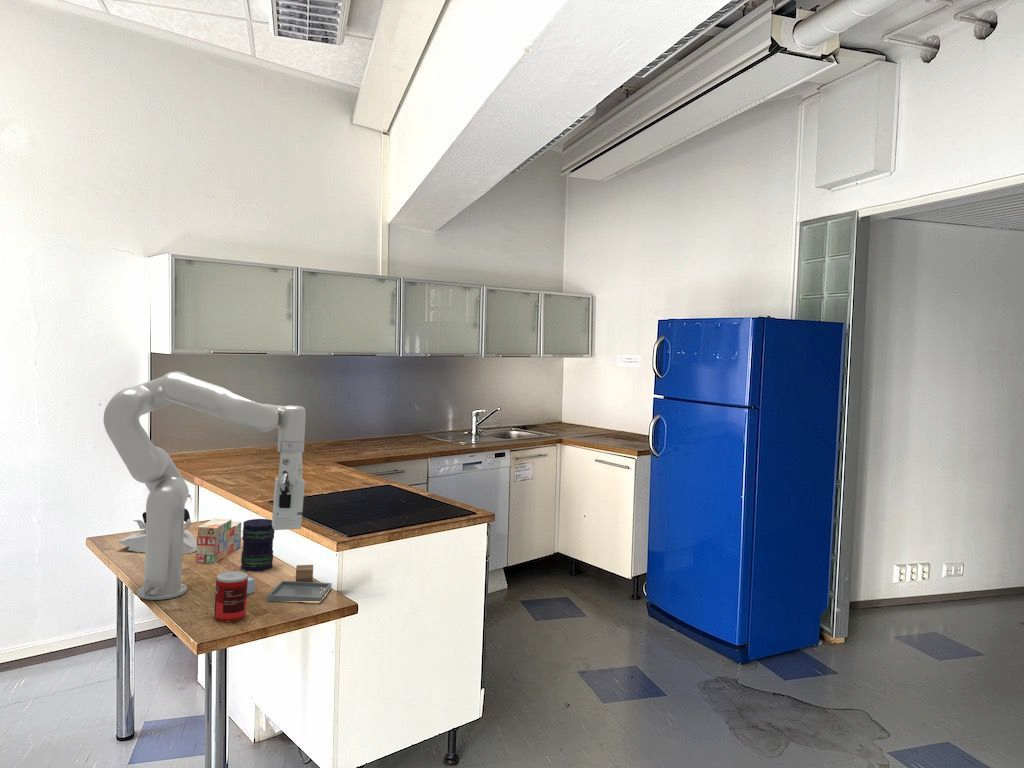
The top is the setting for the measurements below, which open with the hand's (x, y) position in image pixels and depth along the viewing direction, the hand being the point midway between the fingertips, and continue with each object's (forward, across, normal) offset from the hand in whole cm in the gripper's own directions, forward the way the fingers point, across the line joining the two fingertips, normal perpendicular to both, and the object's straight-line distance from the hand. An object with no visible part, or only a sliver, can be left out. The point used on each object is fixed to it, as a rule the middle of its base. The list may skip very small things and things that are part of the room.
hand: (288, 504), depth 201 cm
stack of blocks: (+25, +31, +30) cm, 50 cm away
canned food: (+25, -25, +7) cm, 36 cm away
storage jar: (+25, +18, +14) cm, 34 cm away
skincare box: (+7, 0, 0) cm, 7 cm away
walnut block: (+25, +4, -5) cm, 26 cm away
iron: (+25, +34, +51) cm, 67 cm away
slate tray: (+25, -7, -6) cm, 27 cm away
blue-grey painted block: (+25, -5, +12) cm, 28 cm away
